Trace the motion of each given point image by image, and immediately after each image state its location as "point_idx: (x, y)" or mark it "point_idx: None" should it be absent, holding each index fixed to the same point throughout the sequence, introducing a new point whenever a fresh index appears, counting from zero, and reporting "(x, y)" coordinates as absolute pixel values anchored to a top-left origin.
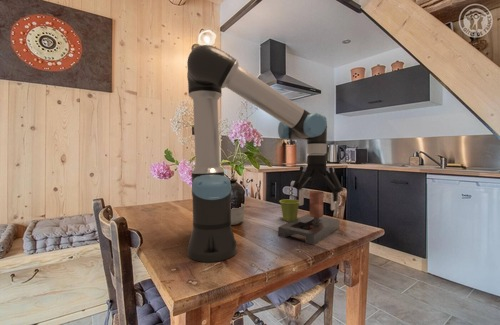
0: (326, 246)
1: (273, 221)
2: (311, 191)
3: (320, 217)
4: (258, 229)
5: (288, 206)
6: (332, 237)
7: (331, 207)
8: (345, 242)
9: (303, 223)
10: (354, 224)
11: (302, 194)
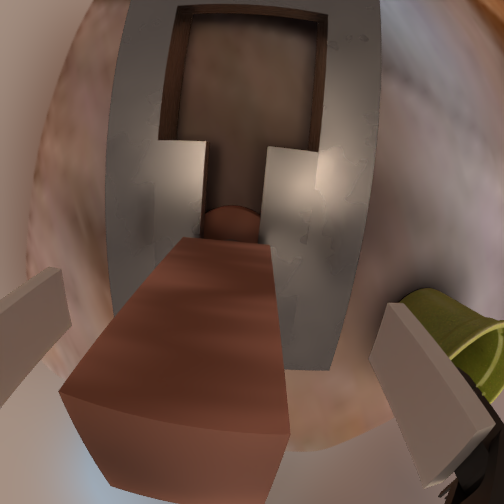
0: (104, 22)
1: (478, 244)
2: (267, 467)
3: None
4: (479, 79)
5: (468, 323)
6: (105, 145)
7: (42, 277)
8: (50, 121)
9: (286, 148)
10: None
11: (417, 420)
